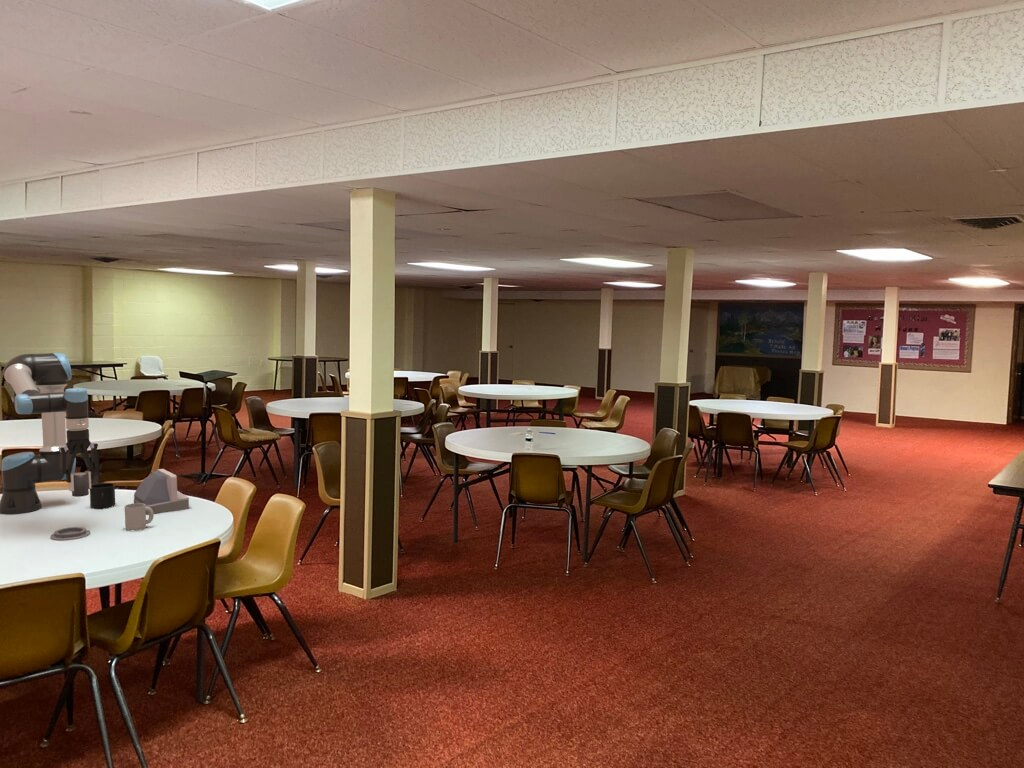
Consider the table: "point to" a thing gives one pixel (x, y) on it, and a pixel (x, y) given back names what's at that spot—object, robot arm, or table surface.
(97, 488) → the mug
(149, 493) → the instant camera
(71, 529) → the ring
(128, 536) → the table surface
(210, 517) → the table surface
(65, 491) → the table surface
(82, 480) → the dark grey cylinder
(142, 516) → the cup
